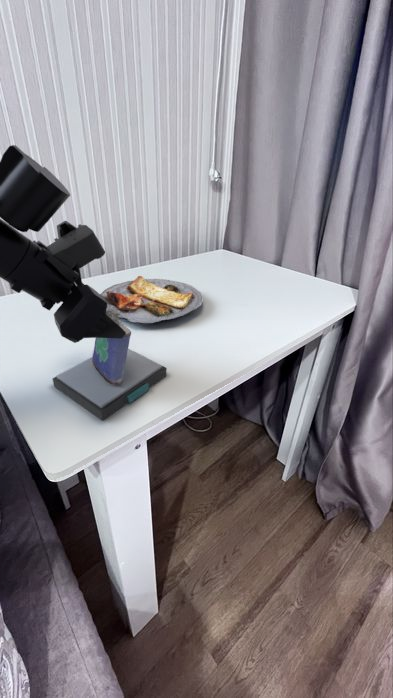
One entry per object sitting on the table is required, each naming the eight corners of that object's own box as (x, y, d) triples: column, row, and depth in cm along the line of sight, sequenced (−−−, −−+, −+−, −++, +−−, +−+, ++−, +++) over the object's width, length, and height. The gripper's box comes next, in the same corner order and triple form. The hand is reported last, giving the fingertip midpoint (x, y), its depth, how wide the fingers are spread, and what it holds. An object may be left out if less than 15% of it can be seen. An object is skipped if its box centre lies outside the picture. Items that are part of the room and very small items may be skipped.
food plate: (79, 305, 80) (77, 291, 78) (147, 279, 96) (146, 267, 94) (155, 340, 67) (155, 325, 65) (219, 304, 83) (220, 291, 81)
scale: (104, 422, 48) (102, 410, 47) (54, 387, 54) (51, 375, 53) (168, 377, 57) (168, 366, 56) (119, 351, 64) (118, 341, 62)
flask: (125, 384, 52) (136, 321, 47) (107, 387, 50) (116, 322, 46) (104, 356, 58) (111, 298, 54) (87, 357, 56) (94, 298, 52)
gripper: (76, 221, 32) (175, 304, 43) (42, 193, 46) (124, 262, 57) (7, 309, 33) (121, 369, 44) (-7, 256, 46) (84, 312, 57)
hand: (112, 321), depth 50 cm, fingers closed on flask, 9 cm apart
